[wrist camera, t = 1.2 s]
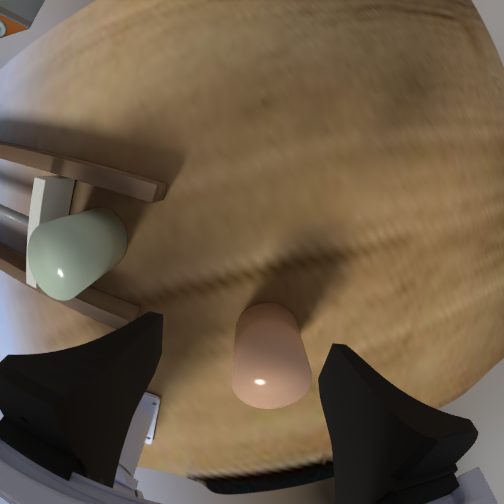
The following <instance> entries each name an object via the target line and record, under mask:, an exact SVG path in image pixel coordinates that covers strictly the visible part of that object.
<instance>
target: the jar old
mask: <svg viewBox="0 0 504 504" xmlns="http://www.w3.org/2000/svg"><path fill="white" fill-rule="evenodd" d="M126 250H127V234H126V230H125V227H124V225H123V223H122V222H121V220H120V219H119V217H118V216H117V215H116V214H114V213H113V212H112V211H110V210H108V209H105V208H94V209H90V210H87V211H83V212H79V213H76V214H72V215H69V216H65V217H62V218H58V219H55V220H52V221H48V222H45V223H42V224H40V225H39V226H37V227H36V228H35V230H34V231H33V232H32V234H31V236H30V239H29V243H28V262H29V267H30V270H31V273H32V275H33V277H34V279H35V281H36V283H37V284H38V285H39V287H40V288H41V289H42V290H43V291H44V292H45V293H46V294H47V295H49V296H50V297H52V298H54V299H57V300H62V301H65V300H70V299H72V298H74V297H75V296H76V295H78V294H79V293H80V292H82V291H83V290H84V289H85V288H87V287H88V286H89V285H91V284H92V283H93V282H95V281H96V280H97V279H99V278H100V277H101V276H103V275H104V274H105V273H107V272H108V271H109V270H111V269H112V268H113V267H115V266H116V265H117V264H119V263H120V262H121V260H122V259H123V257H124V255H125V253H126Z"/></svg>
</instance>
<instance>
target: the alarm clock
mask: <svg viewBox="0 0 504 504" xmlns="http://www.w3.org/2000/svg"><path fill="white" fill-rule="evenodd" d="M44 1H45V0H0V38H2V37H5V36H8V35H11V34H14V33H17V32H20V31H23V30H27V29H29V28H30V27H31V25H32V23H33V21H34V19H35V17H36V15H37V13H38V11H39V10H40V8H41V6H42V5H43V3H44Z"/></svg>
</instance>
